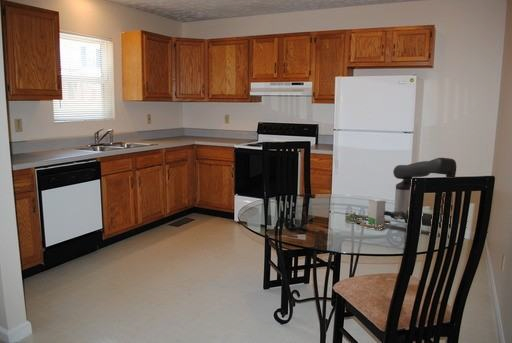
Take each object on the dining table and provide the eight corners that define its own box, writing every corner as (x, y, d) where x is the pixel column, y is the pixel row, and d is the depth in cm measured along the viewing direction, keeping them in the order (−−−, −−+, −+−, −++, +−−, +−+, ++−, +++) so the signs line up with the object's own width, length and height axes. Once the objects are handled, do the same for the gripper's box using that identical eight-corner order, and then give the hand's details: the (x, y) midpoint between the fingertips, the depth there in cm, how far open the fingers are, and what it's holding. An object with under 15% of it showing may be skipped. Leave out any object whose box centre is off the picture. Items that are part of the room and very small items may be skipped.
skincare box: (367, 223, 251) (368, 198, 249) (376, 222, 253) (377, 197, 251) (376, 226, 243) (376, 200, 241) (385, 225, 246) (386, 199, 244)
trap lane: (357, 216, 268) (357, 210, 267) (393, 222, 254) (393, 215, 254) (341, 223, 248) (342, 217, 248) (380, 230, 235) (380, 223, 234)
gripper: (418, 209, 239) (388, 205, 249) (412, 213, 229) (381, 208, 239) (417, 221, 241) (387, 217, 250) (411, 226, 230) (380, 221, 240)
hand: (384, 213), depth 245 cm, fingers closed
